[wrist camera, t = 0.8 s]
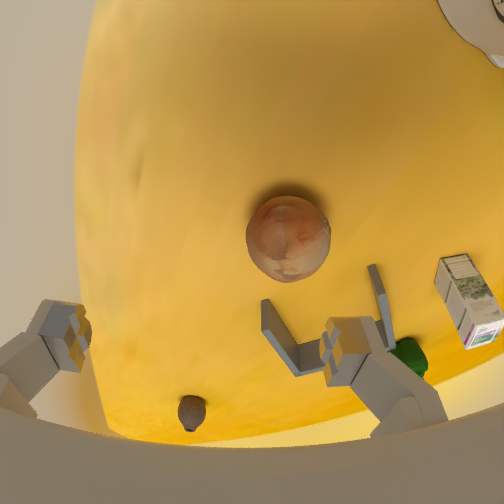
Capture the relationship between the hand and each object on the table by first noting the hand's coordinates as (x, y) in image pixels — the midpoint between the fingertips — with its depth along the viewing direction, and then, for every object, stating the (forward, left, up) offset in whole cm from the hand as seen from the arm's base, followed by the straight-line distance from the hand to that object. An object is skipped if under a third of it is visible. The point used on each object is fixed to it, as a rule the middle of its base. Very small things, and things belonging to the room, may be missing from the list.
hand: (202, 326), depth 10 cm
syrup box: (-21, +35, -29) cm, 50 cm away
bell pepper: (-10, +53, -29) cm, 61 cm away
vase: (+41, +55, -29) cm, 74 cm away
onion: (+1, +15, -29) cm, 32 cm away
